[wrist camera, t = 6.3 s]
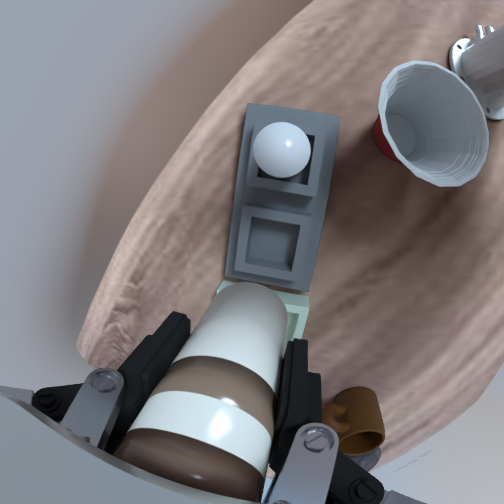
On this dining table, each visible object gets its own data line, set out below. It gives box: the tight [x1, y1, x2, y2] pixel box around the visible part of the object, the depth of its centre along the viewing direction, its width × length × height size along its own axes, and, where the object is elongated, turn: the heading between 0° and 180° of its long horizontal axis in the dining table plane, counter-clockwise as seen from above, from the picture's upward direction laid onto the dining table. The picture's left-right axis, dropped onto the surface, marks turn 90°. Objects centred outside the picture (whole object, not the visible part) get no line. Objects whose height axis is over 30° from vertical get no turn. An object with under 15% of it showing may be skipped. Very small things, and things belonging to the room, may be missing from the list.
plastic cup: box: [374, 60, 489, 187], centre depth 21 cm, size 11×11×12 cm
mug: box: [322, 387, 385, 456], centre depth 33 cm, size 12×8×9 cm, turn 52°
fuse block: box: [225, 103, 340, 292], centre depth 29 cm, size 20×10×4 cm, turn 172°
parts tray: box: [217, 280, 310, 354], centre depth 34 cm, size 11×11×3 cm
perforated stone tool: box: [346, 447, 381, 472], centre depth 39 cm, size 15×5×7 cm, turn 144°
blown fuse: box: [112, 282, 288, 503], centre depth 9 cm, size 4×4×10 cm
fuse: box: [253, 122, 311, 177], centre depth 23 cm, size 4×4×10 cm
